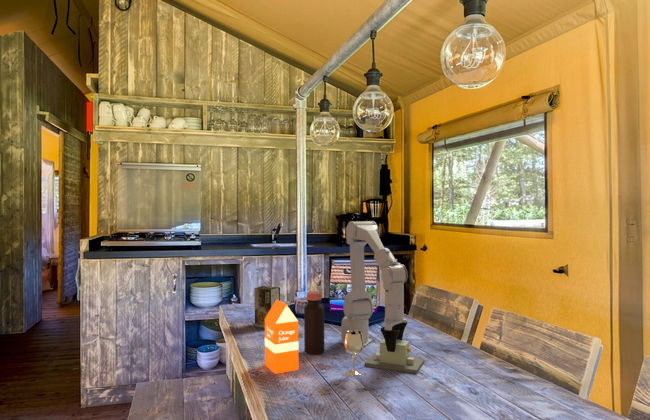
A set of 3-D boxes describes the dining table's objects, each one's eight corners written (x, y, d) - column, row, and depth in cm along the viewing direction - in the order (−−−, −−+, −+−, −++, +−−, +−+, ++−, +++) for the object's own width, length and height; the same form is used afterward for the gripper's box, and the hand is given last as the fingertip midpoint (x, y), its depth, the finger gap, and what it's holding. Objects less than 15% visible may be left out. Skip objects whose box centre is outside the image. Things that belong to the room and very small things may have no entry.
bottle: (327, 350, 151) (327, 291, 151) (319, 356, 144) (318, 295, 144) (310, 347, 153) (309, 290, 153) (300, 353, 147) (300, 293, 147)
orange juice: (274, 374, 129) (274, 305, 129) (264, 364, 137) (264, 300, 137) (299, 369, 133) (298, 303, 133) (287, 360, 140) (287, 297, 140)
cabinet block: (380, 362, 136) (379, 342, 136) (384, 357, 140) (384, 338, 140) (409, 366, 132) (408, 346, 132) (412, 360, 137) (412, 341, 137)
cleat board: (364, 365, 135) (364, 357, 135) (374, 356, 144) (374, 348, 144) (416, 373, 129) (416, 365, 129) (423, 362, 138) (423, 354, 138)
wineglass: (365, 371, 131) (365, 330, 131) (360, 378, 126) (360, 335, 126) (346, 368, 133) (346, 329, 133) (341, 375, 127) (341, 334, 127)
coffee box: (281, 326, 182) (281, 287, 182) (271, 329, 177) (271, 289, 177) (264, 323, 187) (264, 285, 187) (253, 326, 182) (253, 287, 182)
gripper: (401, 310, 128) (401, 356, 128) (412, 300, 142) (412, 342, 142) (377, 307, 131) (377, 353, 131) (391, 298, 144) (391, 340, 144)
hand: (394, 347), depth 137 cm, fingers open, 7 cm apart
